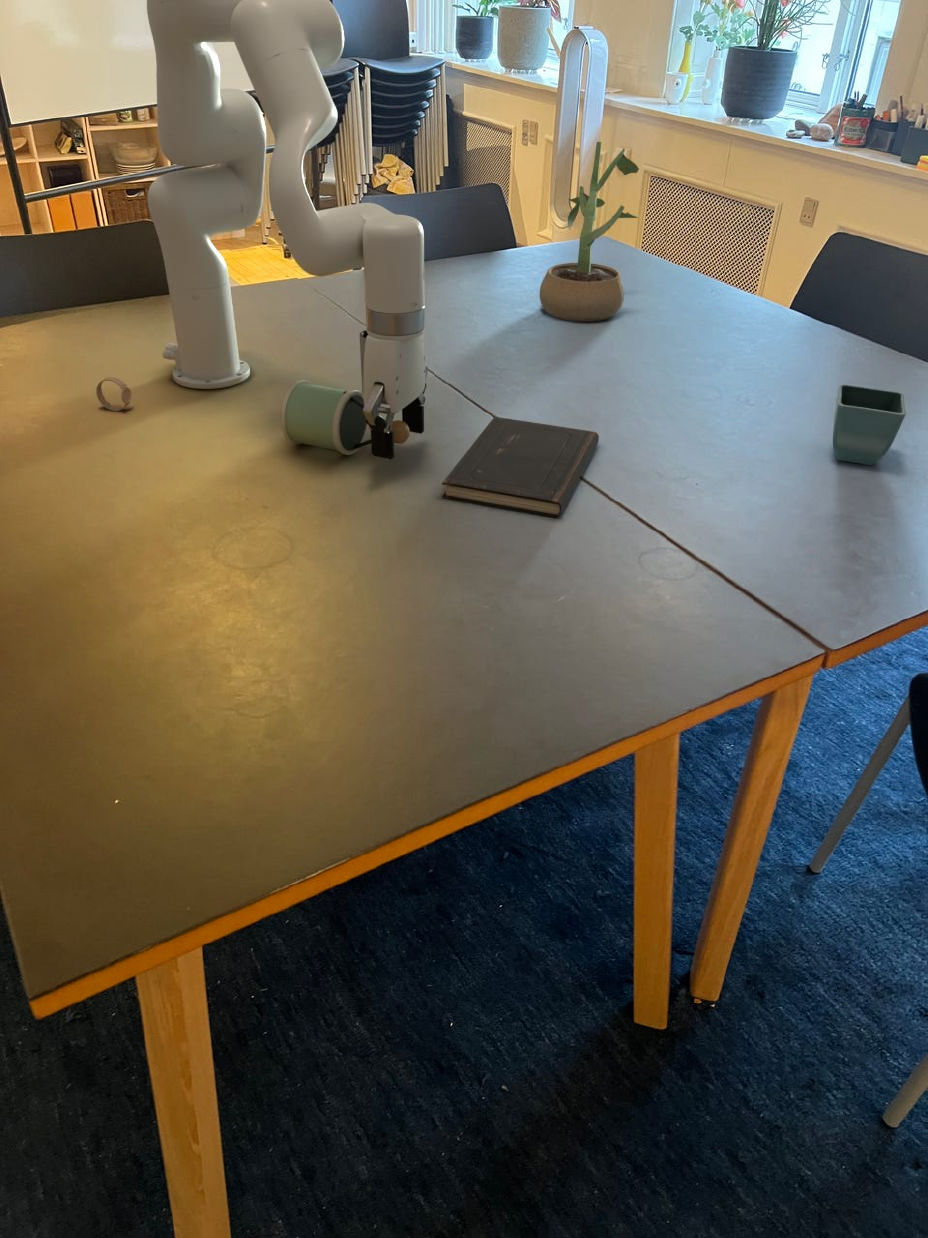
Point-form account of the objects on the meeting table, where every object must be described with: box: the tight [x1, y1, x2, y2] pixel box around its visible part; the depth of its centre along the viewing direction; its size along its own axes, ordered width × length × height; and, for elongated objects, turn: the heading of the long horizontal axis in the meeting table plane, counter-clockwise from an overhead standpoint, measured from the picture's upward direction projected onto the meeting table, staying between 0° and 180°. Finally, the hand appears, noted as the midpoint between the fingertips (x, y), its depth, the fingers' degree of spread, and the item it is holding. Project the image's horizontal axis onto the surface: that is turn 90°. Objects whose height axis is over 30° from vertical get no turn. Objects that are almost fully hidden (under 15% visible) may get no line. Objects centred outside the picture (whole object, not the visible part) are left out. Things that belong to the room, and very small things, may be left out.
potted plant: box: [539, 141, 640, 323], centre depth 185 cm, size 22×18×30 cm
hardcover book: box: [441, 416, 600, 518], centre depth 131 cm, size 16×23×2 cm
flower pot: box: [832, 383, 907, 466], centre depth 135 cm, size 9×9×9 cm
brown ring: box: [95, 376, 132, 412], centre depth 146 cm, size 3×5×5 cm, turn 78°
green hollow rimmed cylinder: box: [280, 379, 411, 456], centre depth 133 cm, size 18×9×9 cm, turn 67°
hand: (398, 443), depth 132 cm, fingers open, 8 cm apart
